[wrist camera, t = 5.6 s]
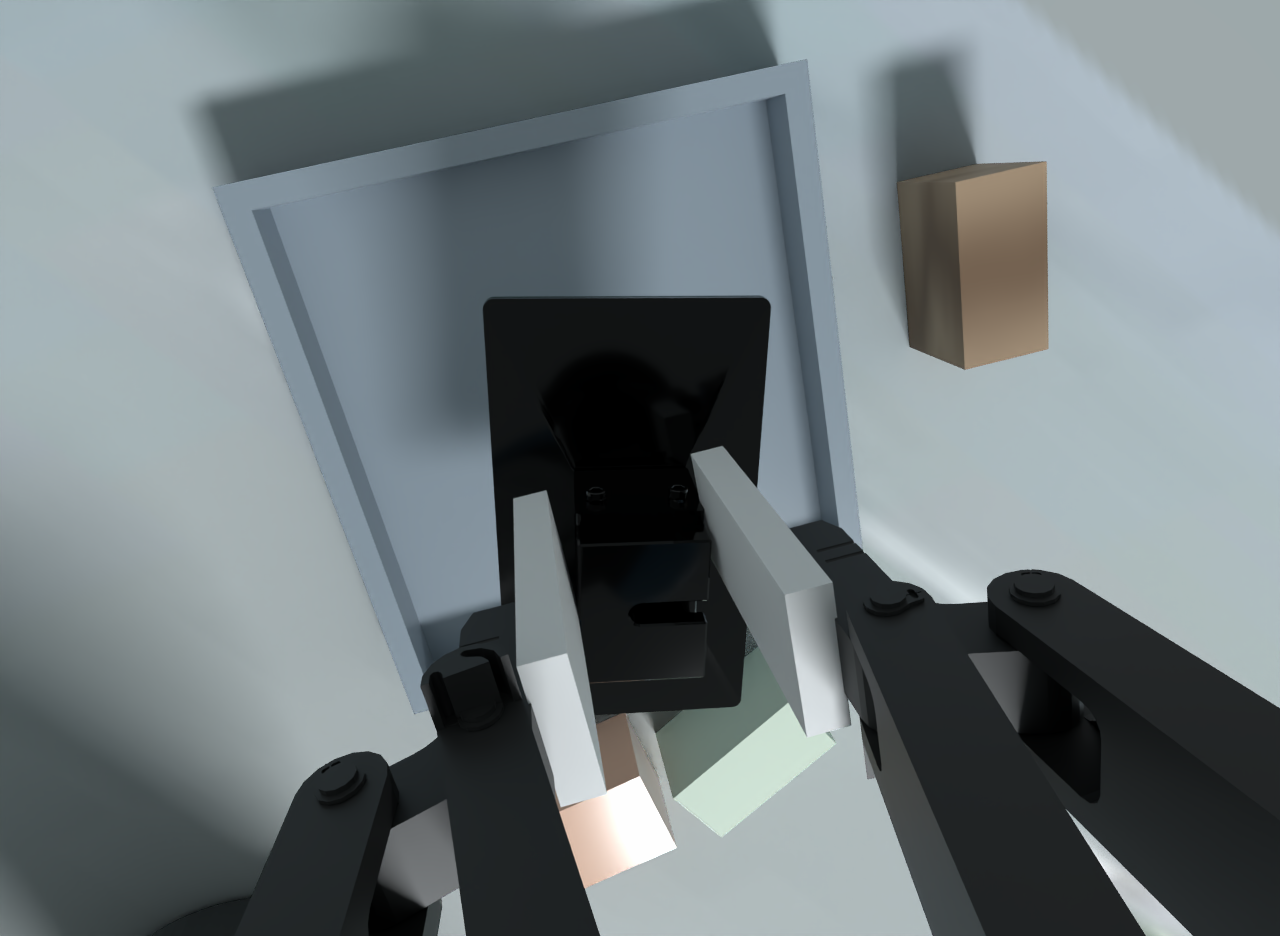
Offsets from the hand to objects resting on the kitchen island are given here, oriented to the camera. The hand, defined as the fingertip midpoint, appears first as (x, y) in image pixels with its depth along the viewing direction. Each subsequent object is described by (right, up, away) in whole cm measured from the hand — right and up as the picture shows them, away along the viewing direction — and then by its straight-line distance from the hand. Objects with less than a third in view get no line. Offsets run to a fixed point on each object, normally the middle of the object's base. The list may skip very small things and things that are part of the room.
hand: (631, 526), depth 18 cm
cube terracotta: (-2, -12, +16) cm, 20 cm away
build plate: (0, 0, +4) cm, 4 cm away
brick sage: (+4, -9, +16) cm, 19 cm away
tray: (-2, +4, +10) cm, 11 cm away
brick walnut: (+11, +9, +11) cm, 18 cm away
